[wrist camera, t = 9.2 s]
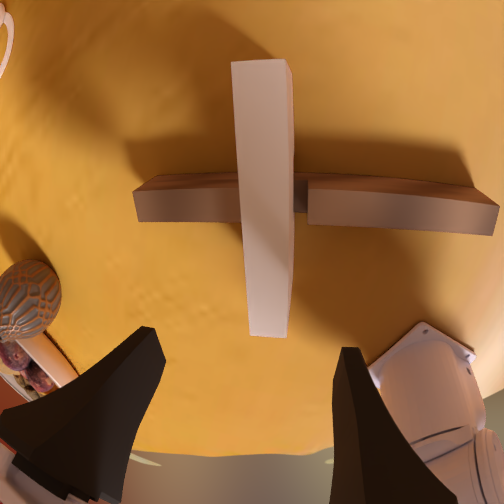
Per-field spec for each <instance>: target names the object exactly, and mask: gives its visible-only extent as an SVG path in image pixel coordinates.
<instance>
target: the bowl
mask: <svg viewBox="0 0 504 504" xmlns="http://www.w3.org/2000/svg"><path fill="white" fill-rule="evenodd" d="M0 375H1V377H3V379H4V380H5V381H7V383H8V384H9V385H11V386H12V387H13V388H14V389H15V390H16V391H17V392H18V393H19V394H20V395H22V396H23V397H24V398H25V399H26V400H28V401H29V402H31V401H33V400H36V399H38V398H40V397H43V396H45V395H47V394H49V393H51V392H53V391H55V390H57V389H59V388H61V387H62V386H64V385H66V384H67V383H69V382H71V381H72V380H74V379H76V378H77V377H79V376H78V375H77V373H76V372H75V370H74V369H73V368H72V366H71V365H70V364H69V362H68V361H67V360H66V358H65V357H64V356H63V355H62V353H61V352H60V351H59V350H58V349H57V348H56V346H55V345H54V344H53V343H52V342H51V341H50V340H49V338H48V337H47V336H46V335H45V334H44V333H43V332H42V333H40V334H38V335H37V336H35V337H32V338H28V339H17V340H10V341H7V342H5V343H1V342H0Z"/></svg>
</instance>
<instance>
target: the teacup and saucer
mask: <svg viewBox="0 0 504 504" xmlns="http://www.w3.org/2000/svg"><path fill="white" fill-rule="evenodd" d="M3 23H5V24H6V26H7V29H8V43H7V48H6V52H5V56H4V59H3V61H2V63H1V66H0V77H1V76H2V74H3V72H4V70H5V68H6V65H7V63H8V60H9V57H10V53H11V50H12V45H13V39H14V21H13V18H12V16H11V14H10V13H8V12H5V7H4V5H3V4H2V3H0V28H1V26H2V24H3Z"/></svg>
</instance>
